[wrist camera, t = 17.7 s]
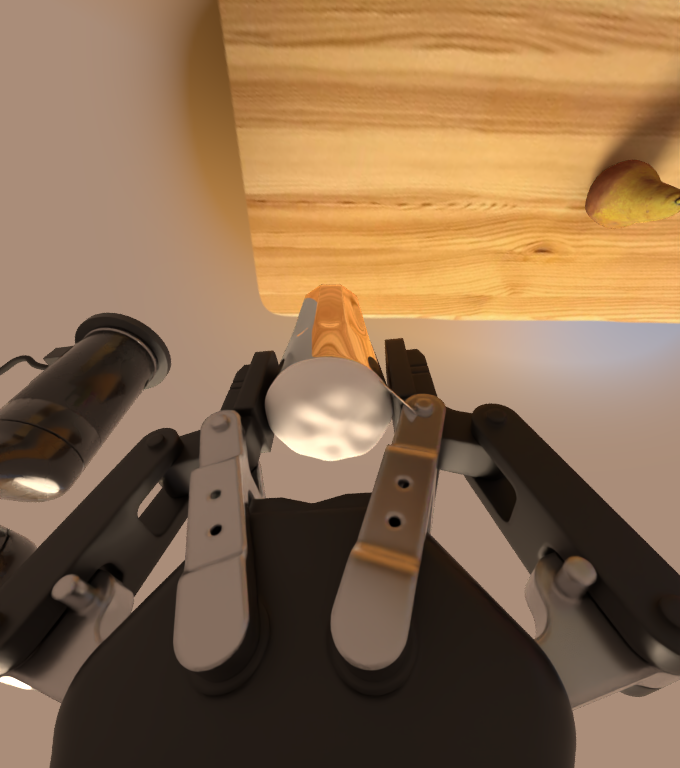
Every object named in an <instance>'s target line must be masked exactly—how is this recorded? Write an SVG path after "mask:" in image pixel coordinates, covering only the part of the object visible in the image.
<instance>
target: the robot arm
mask: <svg viewBox="0 0 680 768" xmlns="http://www.w3.org/2000/svg"><path fill="white" fill-rule="evenodd" d="M385 354H386V374H387V385H388V388H389V389H391V390H392V391H393V392H394V393H395V394H396V395H398V396H399V397H400V398H401V399H402V400H403V401H404V402H406V403H407V404H408V405H409V406H410V407H411V408H412V409H413V410H414V411H415V412H416V413H417V415H415V414H414V413H413V412H412V411H411V410H409V409H408V408H407V407H406V406H405V405H404V404H402V403H401V402H399V401H398V399H397V398H396V397H395V396H393V395H392V394H390V395H391V398H392V403H393V415H392V420H393V426H394V434H395V435H394V438H393V441H392V444H391V445H389V444H388V445H387V447H386V449H385V452H384V455H383V459H382V462H381V465H380V469H379V472H378V475H377V478H376V481H375V485H374V488H373V491H372V493H356V494H345V495H341V496H337V497H334V498H331V499H327V500H324V501H321V502H317V503H307V502H302V501H297V500H291V499H286V498H266V496H265V490H264V483H263V476H262V470H261V464H260V462H259V457H260V453H263V452H270V451H271V447H272V443H273V438H274V433H273V431H272V430H271V428H270V426H269V424H268V420H267V416H266V411H265V398H266V395H267V392H268V390H269V388H270V386H271V383H272V381H273V379H274V376H275V374H276V371H277V369H278V367H279V364H278V361H277V358H276V355H275V352H274V351H263V352H255V354H254V356H253V359H252V361H251V364H250V365H244V366H243V367H242V368H241V369H240V370H239V371H238V372H237V373H236V376H235V378H234V380H233V383H232V385H231V387H230V390H229V392H228V394H227V396H226V398H225V401H224V403H223V405H222V408H221V410H220V411H219V412H216V413H214V414H212V415H210V416H209V417H208V418H207V419H205V421H204V422H203V424H202V426H201V430H198V431H195V432H192V433H189V434H186V435H183V436H179V435H178V434H177V432H176V431H175V430H174V429H171V428H162V429H158V430H156V431H153V432H151V433H149V434H148V435H146V436H145V437H144V438H143V439H142V440H141V441H140V442H139V443H138V444H137V445H136V446H135V447H134V448H133V449H132V450H131V451H130V452H129V453H128V454H127V455H126V456H125V458H123V460H121V462H120V463H119V464H118V465H117V466H116V467H115V468H114V469H113V470H112V471H111V472H110V473H109V474H108V475H107V476H106V477H105V478H104V479H103V480H102V481H101V482H100V484H99V485H98V486H97V487H96V488H95V489H94V490H93V491H92V492H91V493H90V494H89V495H88V496H87V497H86V498H85V499H84V500H83V501H82V503H80V505H78V507H77V508H76V509H75V510H74V511H73V512H72V513H71V514H70V515H69V516H68V517H67V518H66V519H65V520H64V521H63V522H62V523H61V524H60V525H59V526H58V527H57V529H56V530H55V531H54V532H53V533H52V534H51V535H50V536H49V537H48V538H47V539H46V540H45V541H44V542H43V543H42V544H41V545H40V546H39V547H38V548H37V547H36V545H35V544H34V543H33V542H32V541H30V540H29V539H28V538H26V537H24V536H22V535H20V534H18V533H16V532H14V531H12V530H10V529H8V528H5V527H4V526H2V525H0V682H1V683H5V684H8V685H11V686H14V687H18V688H21V689H33V690H35V691H39V692H41V693H43V694H45V695H47V696H49V697H51V698H52V699H54V700H56V701H58V702H60V703H61V706H60V709H59V712H58V716H57V720H56V724H55V728H54V737H53V746H52V756H51V762H50V768H574V763H575V752H576V731H575V723H574V717H573V712H572V711H573V710H576V709H578V708H581V707H583V706H585V705H588V704H590V703H592V702H595V701H597V700H600V699H602V698H605V697H607V696H610V695H612V694H614V693H617V692H622V693H624V694H626V695H629V696H635V697H642V696H646V695H648V694H650V693H652V692H655V691H657V690H659V689H661V688H663V687H665V686H668V685H670V684H672V683H674V682H676V681H678V680H680V575H679V574H678V573H677V572H676V571H675V570H674V569H673V568H672V567H671V566H670V565H669V564H668V563H667V562H666V561H665V560H664V559H663V558H662V557H661V556H660V555H659V554H658V553H657V552H656V551H655V550H654V549H653V548H652V547H651V546H650V545H649V544H648V543H647V542H646V541H645V540H644V539H643V538H642V537H640V535H638V533H637V532H636V531H635V530H634V529H633V528H632V527H631V526H630V525H628V524H627V522H625V521H624V519H622V518H621V517H620V516H619V515H618V514H617V513H616V512H615V511H614V510H613V509H612V508H611V507H610V506H609V505H608V504H607V503H606V502H605V501H604V500H603V499H602V498H601V497H600V496H599V495H598V494H597V493H596V492H595V491H594V490H593V489H592V488H591V487H590V486H589V485H588V484H587V483H586V482H585V481H584V480H583V479H582V478H581V477H580V476H579V475H578V474H577V473H576V472H575V471H574V470H573V469H572V468H571V467H570V466H569V465H568V464H567V463H566V462H565V461H564V460H563V459H562V458H561V457H560V456H559V455H558V454H557V453H556V452H555V451H554V450H553V449H552V448H551V447H550V446H549V445H548V444H547V443H546V442H545V441H544V440H543V439H542V438H541V437H539V435H538V434H537V433H536V432H535V431H534V430H533V429H532V428H531V427H530V426H528V424H527V423H526V422H524V420H523V419H522V418H521V417H520V416H519V415H518V414H517V413H515V412H514V411H513V410H512V409H510V408H508V407H506V406H503V405H499V404H484V405H481V406H478V407H477V408H476V409H475V410H474V411H473V413H467V412H460V411H456V410H452V409H450V408H448V407H446V406H445V404H444V402H443V401H442V400H441V399H439V398H438V397H437V394H436V391H435V388H434V385H433V381H432V378H431V375H430V373H429V368H428V366H427V362H426V359H425V356H424V355H423V354H422V353H421V352H420V351H419V350H417V349H412V350H406V349H405V344H404V341H403V338H399V339H389V340H385ZM43 359H44V360H45V362H46V363H47V364H48V365H44V364H40V363H38V362H36V361H35V360H34V359H33V358H32V357H30V356H26V355H25V356H19V357H16V358H14V359H12V360H10V361H9V362H7V363H6V364H5V365H3V366H2V367H1V368H0V375H1V374H3V373H5V372H6V371H8V370H9V369H10V368H11V367H13V366H14V365H15V364H17V363H19V362H22V361H27V362H28V363H29V364H30V365H31V366H32V367H34V368H37V369H41V370H44V371H43V372H42V373H41V374H39V375H38V376H37V377H36V378H35V379H33V380H32V381H31V382H30V383H29V385H28V386H27V387H25V388H24V389H23V390H22V391H21V392H19V393H18V394H17V395H16V396H15V397H14V398H12V399H11V400H10V401H9V402H8V403H7V404H6V405H4V406H3V407H2V408H1V409H0V499H6V500H13V501H21V502H44V501H49V500H53V499H55V498H58V497H60V496H62V495H63V494H65V493H66V492H67V491H68V490H69V489H70V488H71V487H72V486H73V484H74V483H75V482H76V480H77V479H78V478H79V476H80V475H81V473H82V472H83V471H84V469H85V468H86V466H87V465H88V464H89V463H90V461H91V460H92V458H93V457H94V456H95V455H96V453H97V452H98V450H99V449H100V448H101V446H102V445H103V443H104V442H105V441H106V439H107V438H108V437H109V435H110V434H111V433H112V431H113V430H114V428H115V427H116V426H117V424H118V423H119V422H120V420H121V419H122V418H123V416H124V415H125V414H126V412H127V411H128V410H129V408H130V407H131V406H132V404H133V403H134V401H135V400H136V398H137V397H138V396H139V395H140V393H141V392H142V391H143V389H144V388H145V387H147V386H146V385H147V384H148V383H149V382H150V381H151V380H152V379H153V377H154V376H155V374H156V373H157V370H158V360H157V357H156V355H155V353H154V351H153V349H152V348H151V347H150V346H149V344H148V343H147V342H145V341H144V340H143V339H142V338H141V337H139V336H138V335H136V334H134V333H133V332H131V331H128V330H126V329H123V328H120V327H115V326H101V327H97V328H95V329H93V330H91V331H90V332H89V333H88V334H87V335H86V336H85V337H84V338H83V339H82V340H80V341H78V342H77V343H76V344H75V345H74V346H70V347H61V348H55V349H54V350H53V351H52V352H51V353H49V354H48V355H47V356H45V357H44V358H43ZM440 470H444V471H449V472H453V473H458V474H463V475H464V476H465V478H466V480H467V481H468V482H469V484H470V485H471V487H472V488H473V490H474V491H475V493H476V494H477V496H478V497H479V499H480V500H481V502H482V503H483V505H484V506H485V508H486V509H487V511H488V512H489V514H490V515H491V517H492V518H493V520H494V521H495V523H496V524H497V526H498V527H499V529H500V530H501V532H502V533H503V535H504V536H505V538H506V539H507V541H508V542H509V544H510V545H511V547H512V548H513V549H514V551H515V553H516V554H517V555H518V557H519V558H520V560H521V561H522V563H523V564H524V566H525V567H526V569H527V570H528V572H529V573H530V575H531V576H530V577H529V579H528V581H527V584H526V587H525V598H526V601H527V604H528V607H529V609H530V611H531V613H532V615H533V618H534V621H535V626H536V636H535V639H533V638H532V637H531V636H530V635H529V634H528V633H527V632H526V631H525V630H524V629H523V628H522V627H521V626H520V625H519V624H518V623H517V622H516V621H515V620H514V619H513V618H512V617H511V616H510V615H509V614H508V613H507V612H506V611H505V610H504V609H503V608H502V607H501V606H500V605H499V604H498V603H497V602H496V601H495V600H494V599H493V598H492V597H491V596H490V595H489V594H488V593H487V592H486V591H485V590H484V589H483V588H482V587H481V586H480V585H479V584H478V582H477V581H476V580H475V579H474V578H473V577H472V576H471V575H470V574H469V573H468V572H467V571H466V570H465V569H463V567H462V566H461V565H460V564H459V563H458V562H457V561H456V560H455V559H454V558H453V557H452V556H451V555H450V554H449V553H448V552H447V551H446V550H445V549H444V548H443V547H442V546H441V545H440V544H439V543H438V542H437V541H436V540H435V539H434V538H433V537H432V536H431V528H432V521H433V512H434V505H435V498H436V491H437V485H438V478H439V471H440ZM158 482H159V484H160V485H161V486H162V489H161V490H160V492H159V493H158V494H157V495H156V497H155V498H154V499H153V500H152V502H151V503H150V504H149V506H148V507H147V508H146V509H145V511H144V512H143V513H142V514H141V516H140V517H139V518H138V516H137V512H138V508H139V506H140V504H141V503H142V501H143V500H144V499H145V498H146V496H147V495H148V494H149V493H150V491H151V490H152V489H153V488H154V486H155V485H156V484H157V483H158ZM187 517H188V523H187V539H186V555H185V560H184V561H183V562H182V563H181V565H179V567H177V569H175V570H174V571H173V572H172V573H171V574H170V575H169V576H168V578H166V579H165V581H163V582H162V584H160V585H159V586H158V587H157V588H156V589H155V590H154V591H153V592H152V593H151V594H150V595H149V596H148V597H147V598H146V599H145V600H144V601H143V602H142V603H141V604H140V605H139V606H138V608H136V609H135V610H134V611H133V612H132V613H131V611H132V608H133V604H134V596H135V595H136V593H137V592H138V591H139V589H140V588H141V586H142V585H143V583H144V582H145V580H146V579H147V577H148V576H149V574H150V573H151V571H152V570H153V568H154V567H155V565H156V564H157V562H158V561H159V559H160V558H161V556H162V555H163V553H164V552H165V550H166V549H167V547H168V546H169V544H170V543H171V541H172V540H173V538H174V537H175V535H176V534H177V532H178V531H179V529H180V528H181V526H182V525H183V523H184V522H185V520H186V519H187Z"/></svg>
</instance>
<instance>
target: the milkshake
mask: <svg viewBox="0 0 680 768" xmlns="http://www.w3.org/2000/svg"><path fill="white" fill-rule="evenodd" d="M390 394H392V395H393V396H395V397H396V398H397V399H398V401H399V402H401V403H402V404H404V405H405V406H406V407H407V408H408V409H409V410H411V411H412V412H413V413H414V414H415V415H417V413H416V412H415V411H414V410H413V409H412V408H411V407H410V406H409V405H408V404H407V403H406V402H404V401H403V400H402V399H401V398H400V397H399V396H398V395H396V394H395V393H394V392H393V391H392V390H391V389H389V388H388V387H387V384H386V381H385V379H384V376H383V373H382V370H381V368H380V365H379V362H378V360H377V357H376V354H375V352H374V350H373V347H372V345H371V342H370V340H369V336H368V333H367V329H366V326H365V322H364V319H363V316H362V312H361V309H360V305H359V302H358V299H357V296H356V295H355V294H354V293H352V292H351V291H349V290H348V289H347V288H345V287H344V286H342V285H341V284H321V285H320V286H318V287H317V288H315V289H314V290H312V291H311V292H310V293H308V294H307V295H306V296H305V299H304V301H303V304H302V307H301V310H300V313H299V316H298V319H297V322H296V325H295V327H294V330H293V333H292V336H291V339H290V341H289V343H288V346H287V348H286V350H285V353H284V355H283V357H282V359H281V362H280V364H279V367H278V369H277V371H276V374H275V376H274V379H273V381H272V383H271V386H270V388H269V390H268V392H267V395H266V398H265V411H266V416H267V420H268V424H269V426H270V428H271V430H272V431H273V433H274V434H275V435H276V436H277V437H278V438H279V439H280V440H281V441H282V442H284V443H285V444H286V445H287V446H288V447H289V448H290V449H292V450H293V451H295V452H296V453H298V454H301V455H305V456H310V457H314V458H318V459H321V460H325V461H336V460H341V459H345V458H349V457H355V456H359V455H363V454H365V453H367V452H368V451H369V450H370V449H372V448H373V447H374V446H375V445H376V444H377V442H378V441H379V440H380V439H381V437H382V436H383V434H384V432H385V431H386V429H387V427H388V425H389V424H390V422H391V419H392V415H393V403H392V398H391V395H390Z"/></svg>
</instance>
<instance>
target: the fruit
mask: <svg viewBox="0 0 680 768" xmlns="http://www.w3.org/2000/svg"><path fill="white" fill-rule="evenodd" d="M585 209H586V212H587V214H588V215H589V216H590V217H591V218H592V219H593V220H594V221H595V222H597V223H598V224H600V225H602V226H604V227H607V228H611V229H616V228H622V227H626V226H629V225H632V224H634V223H640V222H650V221H656V220H661V219H665V218H668V217H671V216H673V215H675V214H677V213H678V212H680V189H678V188H676V187H673V186H671V185H668V184H666V183H663V182H662V181H661V180H660V177H659V175H658V174H657V172H656V171H655V170H654V169H653V168H652V167H651V166H650V165H649V164H647V163H645V162H643V161H639V160H627V161H623V162H620V163H617V164H615V165H613V166H611V167H609V168H608V169H606V170H604V171H603V172H602V173H601V174H600V175H599V176H598V177H597V178H596V180H595V181H594V183H593V184H592V186H591V188H590V190H589V192H588V195H587V199H586V204H585Z"/></svg>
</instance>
